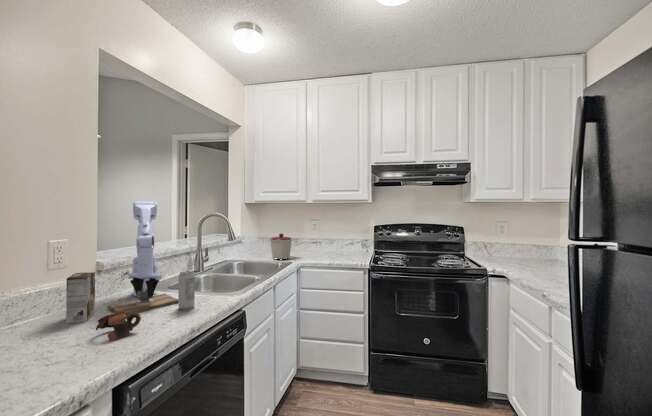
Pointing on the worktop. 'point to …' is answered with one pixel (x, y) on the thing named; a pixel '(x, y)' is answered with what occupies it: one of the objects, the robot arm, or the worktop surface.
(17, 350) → the worktop surface
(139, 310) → the board
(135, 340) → the worktop surface
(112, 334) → the brown rounded piece
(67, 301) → the coffee box
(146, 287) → the robot arm
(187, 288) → the energy drink can
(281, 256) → the canister
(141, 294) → the grey faceted polyhedron
